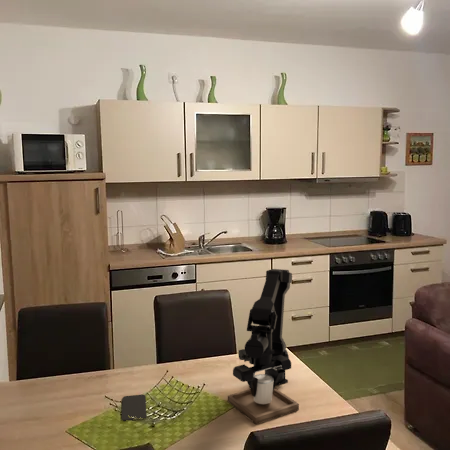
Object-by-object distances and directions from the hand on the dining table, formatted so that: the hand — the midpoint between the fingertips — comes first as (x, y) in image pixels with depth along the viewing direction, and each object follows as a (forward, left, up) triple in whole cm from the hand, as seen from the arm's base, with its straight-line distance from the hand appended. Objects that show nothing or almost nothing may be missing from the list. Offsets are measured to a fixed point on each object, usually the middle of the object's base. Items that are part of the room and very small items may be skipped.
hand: (262, 393), depth 150 cm
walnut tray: (0, 0, -4) cm, 4 cm away
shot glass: (0, 0, -2) cm, 2 cm away
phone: (+35, -20, -5) cm, 41 cm away
